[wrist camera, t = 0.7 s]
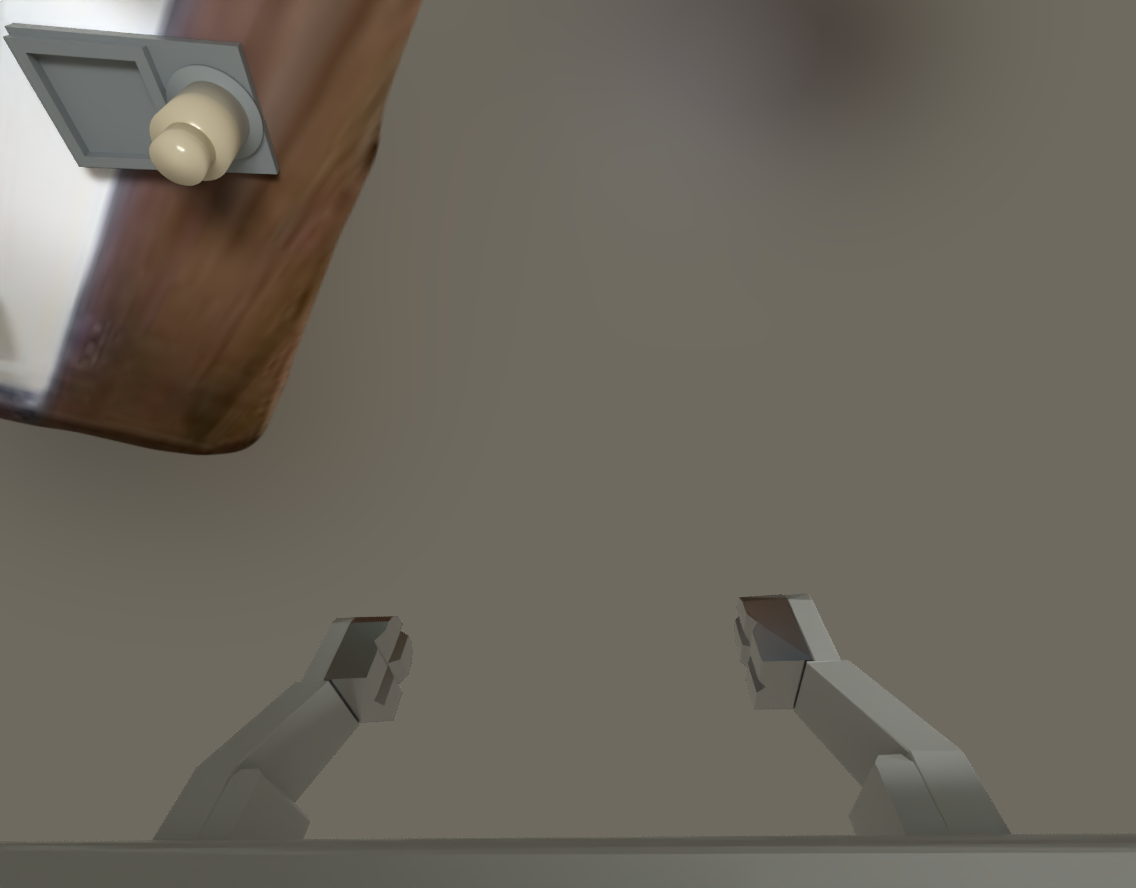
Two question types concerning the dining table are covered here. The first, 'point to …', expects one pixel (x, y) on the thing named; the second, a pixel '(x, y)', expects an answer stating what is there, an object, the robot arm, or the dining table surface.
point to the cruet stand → (147, 101)
